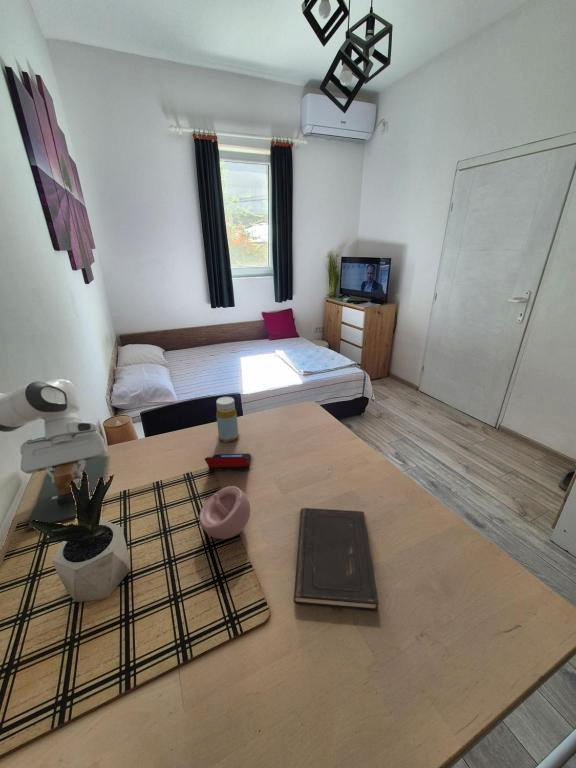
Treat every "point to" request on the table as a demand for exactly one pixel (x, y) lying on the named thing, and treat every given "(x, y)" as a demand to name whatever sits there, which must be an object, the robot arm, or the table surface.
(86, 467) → the slate board
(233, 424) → the bottle
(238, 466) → the handheld console
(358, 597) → the hardcover book
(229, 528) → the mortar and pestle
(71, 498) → the tan rectangular block
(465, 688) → the table surface
